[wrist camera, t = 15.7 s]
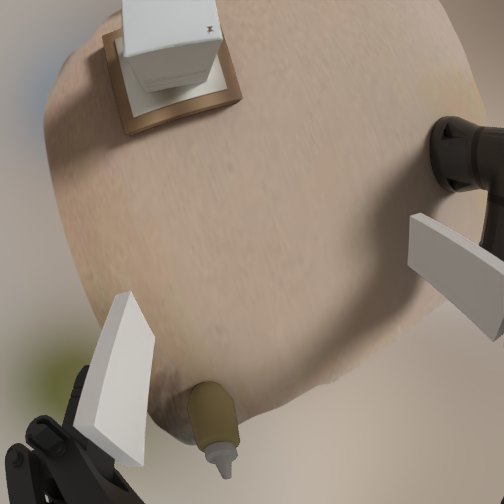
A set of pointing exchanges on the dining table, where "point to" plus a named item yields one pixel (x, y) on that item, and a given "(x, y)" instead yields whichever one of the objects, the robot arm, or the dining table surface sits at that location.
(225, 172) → the dining table surface
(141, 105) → the picture frame
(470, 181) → the robot arm
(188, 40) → the supplement box
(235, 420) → the squeeze bottle
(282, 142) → the dining table surface
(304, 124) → the dining table surface
